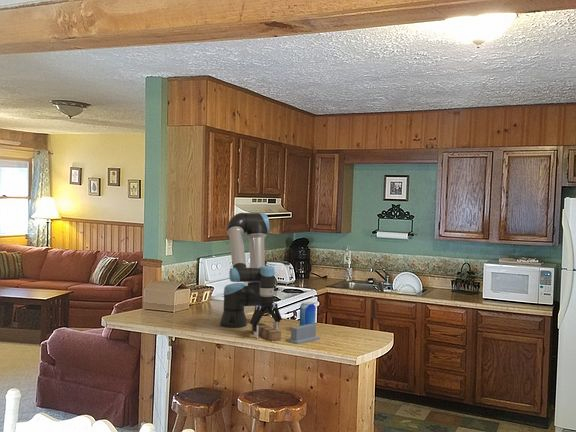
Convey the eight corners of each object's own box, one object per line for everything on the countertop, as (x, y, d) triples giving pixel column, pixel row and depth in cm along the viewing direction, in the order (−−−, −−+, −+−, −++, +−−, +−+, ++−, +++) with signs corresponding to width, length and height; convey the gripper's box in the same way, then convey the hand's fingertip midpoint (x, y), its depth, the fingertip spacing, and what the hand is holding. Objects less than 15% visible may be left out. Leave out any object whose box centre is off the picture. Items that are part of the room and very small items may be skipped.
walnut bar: (251, 332, 320) (251, 322, 320) (259, 331, 323) (260, 322, 323) (272, 342, 299) (272, 332, 299) (280, 341, 302) (280, 331, 302)
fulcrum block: (286, 341, 301) (287, 327, 301) (308, 336, 312) (309, 322, 312) (297, 344, 295) (298, 329, 295) (319, 339, 306) (320, 325, 306)
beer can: (305, 329, 329) (306, 300, 328) (317, 331, 323) (318, 302, 323) (296, 331, 322) (297, 302, 322) (308, 334, 317) (309, 304, 316)
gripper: (253, 298, 299) (252, 340, 299) (288, 294, 316) (287, 333, 317) (243, 296, 304) (242, 337, 305) (279, 292, 322) (278, 331, 322)
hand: (265, 335), depth 311 cm, fingers open, 13 cm apart
